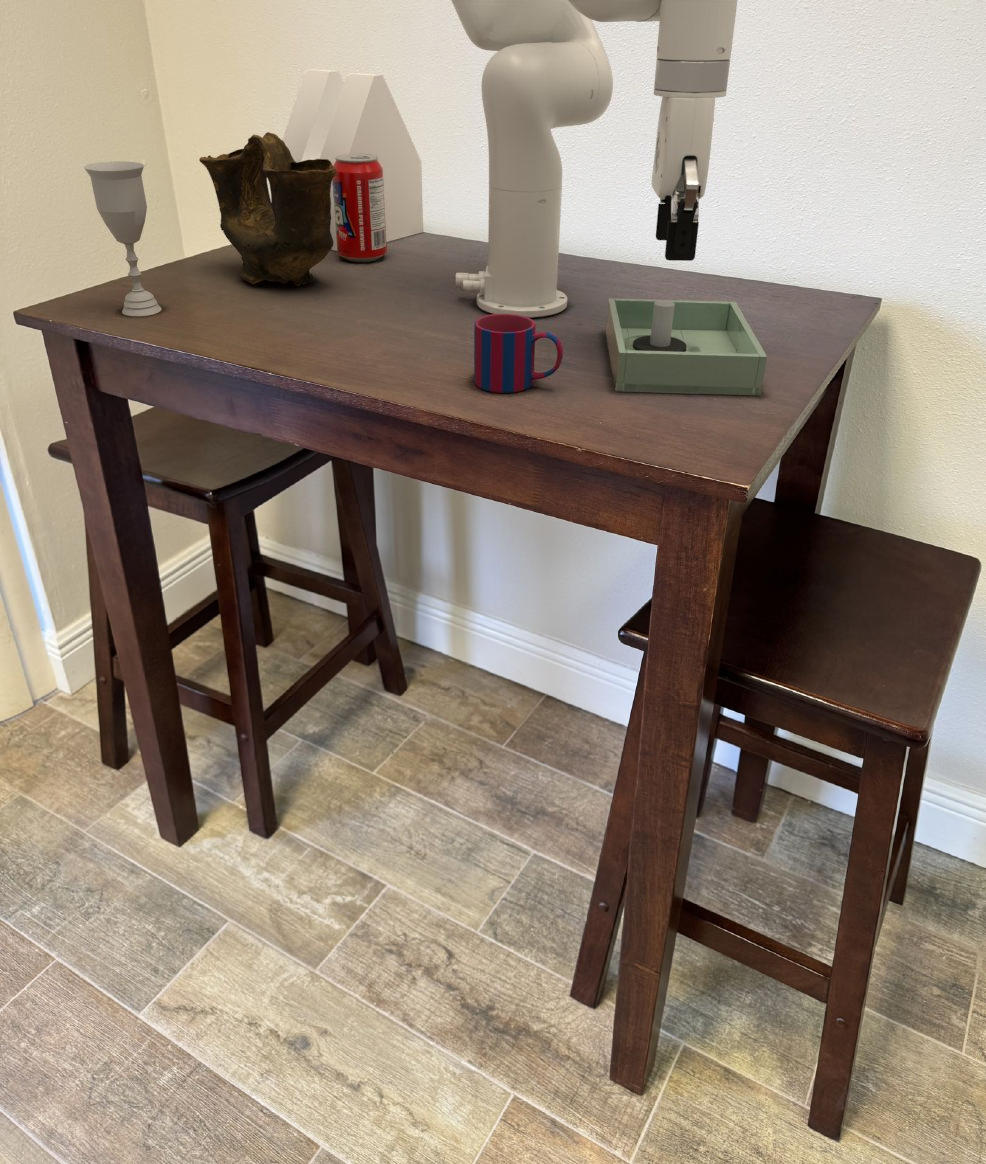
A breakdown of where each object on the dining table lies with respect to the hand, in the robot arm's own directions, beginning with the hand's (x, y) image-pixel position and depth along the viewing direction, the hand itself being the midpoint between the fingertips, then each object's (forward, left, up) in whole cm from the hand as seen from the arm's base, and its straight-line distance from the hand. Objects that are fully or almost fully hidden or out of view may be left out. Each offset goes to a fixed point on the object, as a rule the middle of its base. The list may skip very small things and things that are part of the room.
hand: (674, 249), depth 107 cm
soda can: (-43, +42, -13) cm, 62 cm away
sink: (+2, -2, -13) cm, 13 cm away
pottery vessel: (-53, +28, -13) cm, 62 cm away
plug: (0, 0, -13) cm, 13 cm away
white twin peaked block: (-47, +57, -13) cm, 75 cm away
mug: (-17, -11, -13) cm, 24 cm away
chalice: (-68, +12, -13) cm, 71 cm away
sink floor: (+2, -2, -13) cm, 13 cm away
